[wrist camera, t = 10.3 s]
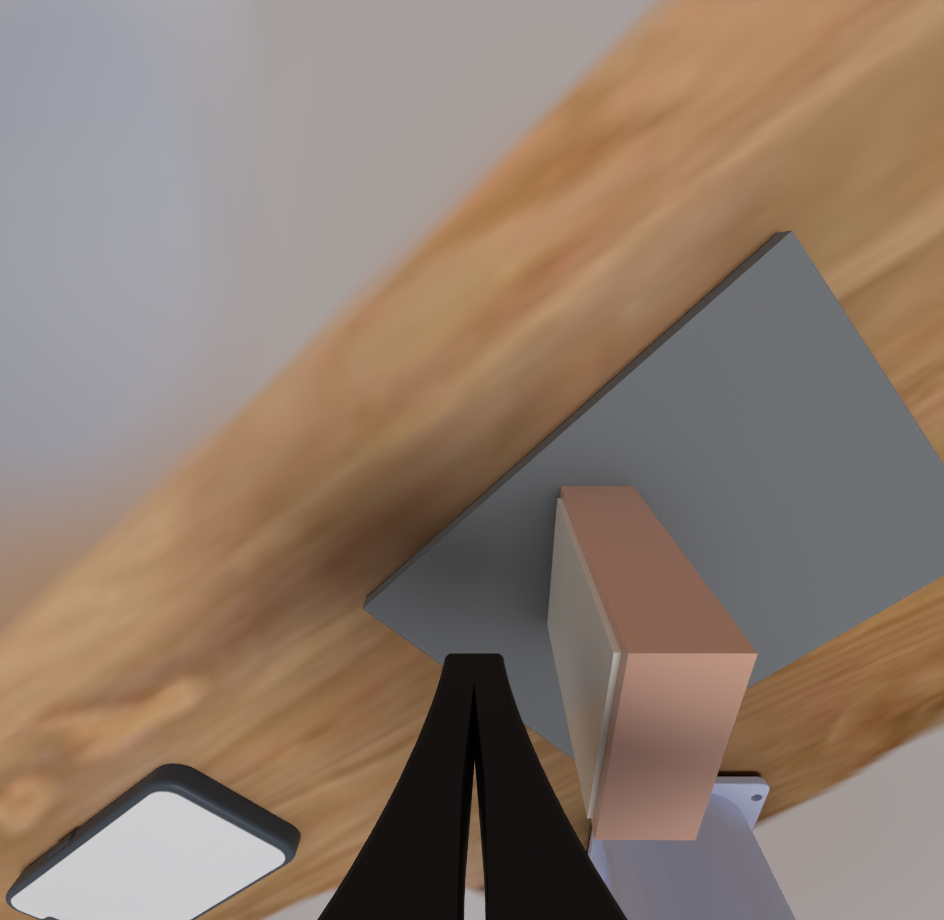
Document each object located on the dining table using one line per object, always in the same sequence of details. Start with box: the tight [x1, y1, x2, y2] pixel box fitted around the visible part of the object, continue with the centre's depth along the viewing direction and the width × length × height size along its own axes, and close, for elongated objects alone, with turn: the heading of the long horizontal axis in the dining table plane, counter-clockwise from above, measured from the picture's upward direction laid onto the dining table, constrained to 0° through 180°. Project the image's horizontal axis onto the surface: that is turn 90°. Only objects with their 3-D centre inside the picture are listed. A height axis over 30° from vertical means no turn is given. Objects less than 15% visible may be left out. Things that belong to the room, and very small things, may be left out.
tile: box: [547, 486, 758, 840], centre depth 13 cm, size 6×3×7 cm, turn 0°
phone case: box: [6, 764, 300, 920], centre depth 24 cm, size 9×2×16 cm
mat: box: [363, 231, 944, 760], centre depth 16 cm, size 18×14×1 cm
